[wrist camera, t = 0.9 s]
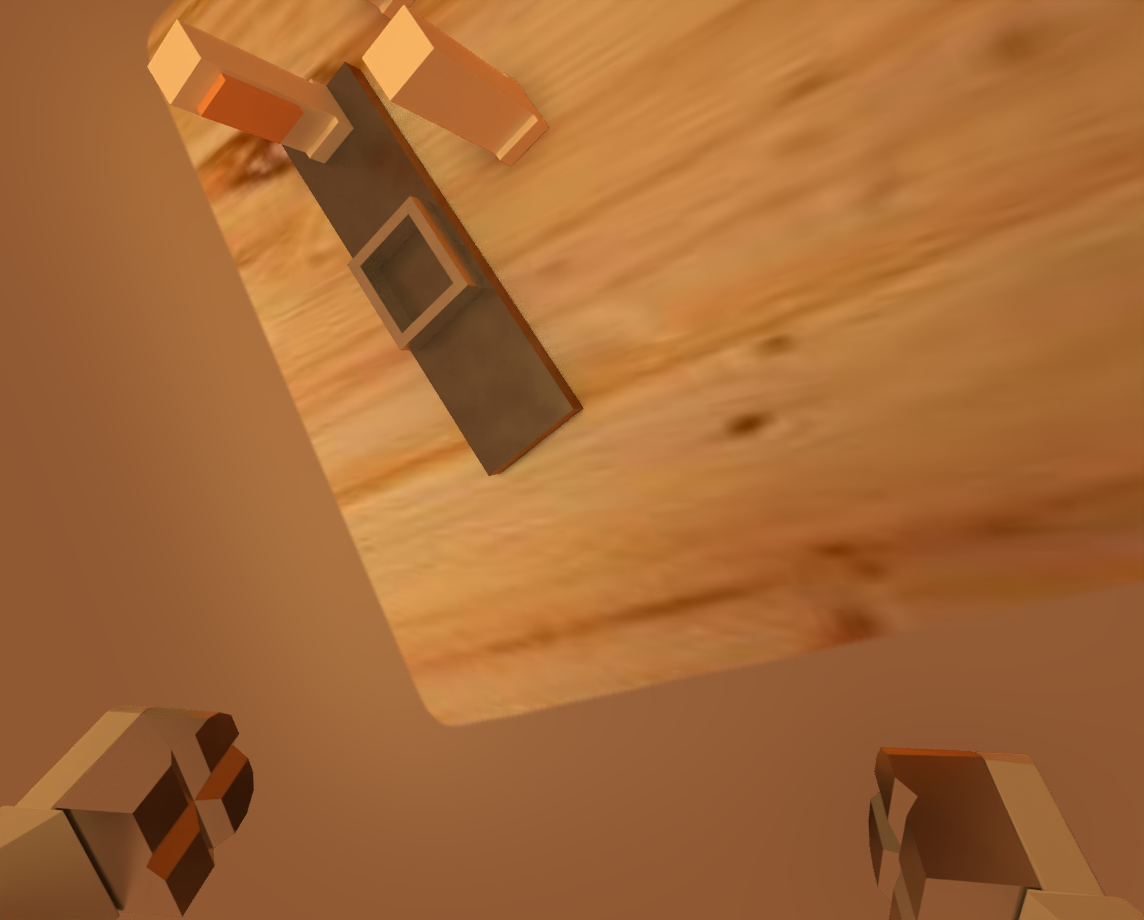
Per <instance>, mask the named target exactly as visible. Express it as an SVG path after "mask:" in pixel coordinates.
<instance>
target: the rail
mask: <svg viewBox="0 0 1144 920" xmlns="http://www.w3.org/2000/svg"><path fill="white" fill-rule="evenodd" d="M327 88H328V89H329V91H330V92H331V94H332V96H333V97H334V99H335V100H336V102H337V103H338V105H339V106H340V108H341V109H342V111H343V113H344V114H345V116H346V117H347V119H348V120H349V122H350V123H351V125H352V126H353V128H354V129H353V130H352V131H351V132H350V133H349V135H348V136H347V137H346V138H345V140H344V141H343V142H342V143H341V144H340V146H339V147H338V148H337V149H336V151H335V152H334V153H333V154H332V155H331V157H330V158H329V159H328V160H327V162H326V163H322V162H319V161H316V160H313V159H310V158H309V157H308V155H307V153H305V152H302V151H300V150H297V149H294V148H291V147H288V146H285V145H283V144H282V146H283V147H284V149H285V151H286V152H287V154H288V155H289V157H290V159H291V160H292V162H293V163H294V165H295V167H296V168H297V170H298V171H299V173H300V175H301V176H302V178H303V179H304V181H305V183H306V184H307V186H308V187H309V189H310V191H311V192H312V194H313V195H314V197H315V199H316V200H317V202H318V203H319V205H320V207H321V208H322V210H323V211H324V213H325V215H326V216H327V218H328V219H329V221H330V223H331V224H332V226H333V227H334V229H335V231H336V232H337V234H338V235H339V237H340V239H341V240H342V242H343V243H344V245H345V247H346V248H347V250H348V251H349V253H350V255H351V256H352V258H353V259H352V260H351V261H350V262H349V264H348V267H349V268H350V270H351V271H352V273H353V275H354V276H355V278H356V279H357V281H358V283H359V284H360V286H361V287H362V289H363V291H364V292H365V294H366V295H367V297H368V299H369V300H370V302H371V304H372V305H373V307H374V308H375V310H376V312H377V313H378V315H379V316H380V318H381V320H382V321H383V323H384V324H385V326H386V328H387V329H388V331H389V332H390V334H391V336H392V337H393V339H394V340H395V342H396V344H397V345H398V347H399V348H400V350H410V351H411V352H412V354H413V355H414V357H415V359H416V360H417V362H418V363H419V365H420V367H421V368H422V370H423V371H424V373H425V375H426V376H427V378H428V379H429V381H430V383H431V384H432V386H433V387H434V389H435V391H436V392H437V394H438V395H439V397H440V399H441V400H442V402H443V403H444V405H445V407H446V408H447V410H448V411H449V413H450V415H451V416H452V418H453V419H454V421H455V423H456V424H457V426H458V427H459V429H460V431H461V432H462V434H463V435H464V437H465V439H466V440H467V442H468V443H469V445H470V447H471V448H472V450H473V451H474V453H475V455H476V456H477V458H478V459H479V461H480V463H481V464H482V466H483V467H484V469H485V471H486V472H487V474H488V475H489V476H491V475H495V474H499V473H501V472H502V471H504V470H505V469H506V468H508V467H509V466H510V465H511V464H513V463H514V462H515V461H516V460H518V459H519V458H520V457H522V456H523V455H524V454H525V453H527V452H528V451H529V450H530V449H532V448H533V447H534V446H536V445H537V444H538V443H539V442H541V441H542V440H543V439H544V438H546V437H547V436H548V435H550V434H551V433H552V432H553V431H555V430H556V429H557V428H558V427H560V426H561V425H562V424H563V423H565V422H566V421H567V420H569V419H570V418H571V417H572V416H574V415H575V414H576V413H577V412H579V411H580V410H581V409H583V407H582V406H581V404H580V403H579V401H578V400H577V398H576V397H575V395H574V394H573V392H572V391H571V389H570V388H569V386H568V385H567V383H566V382H565V380H564V379H563V377H562V375H561V374H560V372H559V371H558V369H557V368H556V366H555V365H554V363H553V362H552V360H551V359H550V357H549V356H548V354H547V353H546V351H545V350H544V348H543V347H542V345H541V344H540V342H539V341H538V339H537V338H536V336H535V335H534V333H533V332H532V330H531V329H530V327H529V325H528V324H527V322H526V321H525V319H524V318H523V316H522V315H521V313H520V312H519V310H518V309H517V307H516V306H515V304H514V303H513V301H512V300H511V298H510V297H509V295H508V294H507V292H506V291H505V289H504V288H503V286H502V285H501V283H500V282H499V280H498V279H497V277H496V275H495V274H494V272H493V271H492V269H491V268H490V266H489V265H488V263H487V262H486V260H485V259H484V257H483V256H482V254H481V253H480V251H479V250H478V248H477V247H476V245H475V244H474V242H473V241H472V239H471V238H470V236H469V235H468V233H467V232H466V230H465V229H464V227H463V225H462V224H461V222H460V221H459V219H458V218H457V216H456V215H455V213H454V212H453V210H452V209H451V207H450V206H449V204H448V203H447V201H446V200H445V198H444V197H443V195H442V194H441V192H440V191H439V189H438V188H437V186H436V185H435V183H434V182H433V180H432V179H431V177H430V175H429V174H428V172H427V171H426V169H425V168H424V166H423V165H422V163H421V162H420V160H419V159H418V157H417V156H416V154H415V153H414V151H413V150H412V148H411V147H410V145H409V144H408V142H407V141H406V139H405V138H404V136H403V135H402V133H401V132H400V130H399V129H398V127H397V125H396V124H395V122H394V121H393V119H392V118H391V116H390V115H389V113H388V112H387V110H386V109H385V107H384V106H383V104H382V103H381V101H380V100H379V98H378V97H377V95H376V94H375V92H374V91H373V89H372V88H371V86H370V85H369V83H368V82H367V80H366V79H365V77H364V75H363V74H362V72H361V71H360V70H359V69H357V68H356V67H354V66H352V65H350V64H348V63H346V62H345V63H344V64H343V65H342V66H341V68H340V69H339V70H338V72H337V73H336V74H335V76H334V77H333V78H332V79H331V81H330V82H329V83H328V85H327Z"/></svg>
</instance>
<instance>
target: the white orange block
mask: <svg viewBox="0 0 1144 920" xmlns="http://www.w3.org/2000/svg"><path fill="white" fill-rule="evenodd" d="M367 1H369V2H370V3H372V4H373V5H375V6H376V7H378V8H379V9H380V11H381V12H382V14H384V15H385V16H387V17H388V18H390V19H391V20H392V19H393V17H394V16H395V15H396V13H397V12H398V11H399V10H400V8H401V7H402V6H403V5H406V6H407V7H410V6H411V4H412V3H413V2H414V0H367Z"/></svg>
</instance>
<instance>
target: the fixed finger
mask: <svg viewBox="0 0 1144 920" xmlns="http://www.w3.org/2000/svg"><path fill="white" fill-rule="evenodd" d="M148 68H149V70H150V72H151V73H152V75H153V77H154V78H155V80H156V82H157V83H158V85H159V87H160V88H161V90H162V92H163V93H164V95H165V97H166V98H167V100H168V102H169V103H170V105H172V106H175V107H178V108H181V109H184V110H187V111H189V112H192V113H195V114H198V115H201V116H202V117H205V118H208V119H210V120H213V121H216V122H219V123H222V124H225V125H227V126H230V127H233V128H236V129H239V130H242V131H244V132H247V133H250V134H253V135H256V136H259V137H261V138H264V139H267V140H270V141H273V142H276V143H278V144H283V145H285V146H288V147H291V148H294V149H297V150H300V151H302V152H305V153H307V155H308V157H309V158H310V159H313V160H316V161H319V162H322V163H326V162H327V160H328V159H329V158H330V157H331V155H332V154H333V153H334V152H335V151H336V149H337V148H338V147H339V146H340V144H341V143H342V142H343V141H344V140H345V138H346V137H347V136H348V135H349V133H350V132H351V131H352V130H353V129H354V128H353V126H352V125H351V123H350V122H349V120H348V119H347V117H346V116H345V114H344V113H343V111H342V109H341V108H340V106H339V105H338V103H337V102H336V100H335V99H334V97H333V96H332V94H331V92H330V91H329V89H328V88H327V86H325V85H323V84H321V83H319V82H317V81H315V80H313V79H310V80H309V81H307V80H305V79H303V78H301V77H299V76H296V75H294V74H292V73H290V72H288V71H286V70H284V69H282V68H279V67H277V66H275V65H273V64H271V63H269V62H267V61H265V60H263V59H260V58H258V57H256V56H254V55H252V54H250V53H248V52H246V51H244V50H241V49H239V48H237V47H235V46H233V45H231V44H229V43H227V42H224V41H222V40H220V39H218V38H216V37H214V36H212V35H210V34H208V33H205V32H203V31H201V30H199V29H197V28H195V27H193V26H191V25H189V24H186V23H184V22H182V21H180V20H178V19H177V20H176V22H175V23H174V25H173V26H172V28H171V30H170V31H169V33H168V34H167V36H166V37H165V39H164V41H163V42H162V44H161V45H160V47H159V49H158V50H157V52H156V53H155V55H154V57H153V58H152V60H151V61H150V63H149V65H148Z"/></svg>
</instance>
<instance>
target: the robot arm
mask: <svg viewBox="0 0 1144 920" xmlns="http://www.w3.org/2000/svg"><path fill="white" fill-rule="evenodd" d="M238 735H239V732H238V730H237V727H236V725H235V723H234V720H233V718H232V716H231V715H229V714H225V713H220V712H209V711H198V710H186V709H174V708H161V707H142V706H129V705H121V706H119V707H116V708H114V709H112V710H110V711H107V712H106V713H105V714H104V715H103V716H102V718H101V719H100V720H99V721H98V722H97V723H96V724H95V725H94V726H93V727H92V728H91V729H90V730H89V731H88V732H87V733H86V734H85V735H84V736H83V737H82V738H81V739H80V740H79V741H78V742H77V743H76V744H75V745H74V746H73V747H72V748H71V749H70V750H69V751H68V752H67V753H66V754H65V756H64V757H63V758H62V759H61V760H60V761H59V762H58V763H57V764H56V765H55V766H54V767H53V768H52V769H51V770H50V771H49V772H48V773H47V774H46V775H45V776H44V777H43V778H42V779H41V780H40V781H39V782H38V783H37V784H36V785H35V786H34V787H33V788H32V789H31V790H30V791H29V793H27V795H25V797H24V798H23V799H22V800H21V801H20V802H19V803H18V804H17V805H16V806H3V807H1V808H0V920H116V919H117V918H119V913H118V912H121V913H136V914H149V915H163V916H177V917H183V915H184V914H185V912H186V911H187V909H188V907H189V906H190V904H191V903H192V901H193V899H194V898H195V896H196V895H197V893H198V892H199V890H200V888H201V887H202V885H203V884H204V882H205V880H206V879H207V877H208V876H209V874H210V873H211V871H212V869H213V868H214V866H215V863H214V848H216V847H217V846H218V845H220V844H221V843H223V842H224V841H225V840H227V839H228V838H229V837H231V836H232V835H234V834H235V833H236V831H237V829H238V828H239V826H240V824H241V823H242V821H243V819H244V818H245V816H246V814H247V812H248V808H249V805H250V801H251V798H252V794H253V791H254V781H253V770H252V767H251V765H250V762H249V759H248V758H247V757H246V756H245V755H244V754H243V753H242V752H241V751H239V750H238V749H237V748H236V747H235V746H234V743H235V741H236V738H237V737H238ZM874 772H875V775H876V779H877V783H878V787H879V790H880V792H879V793H877V794H876V795H875V796H874V797H873V798H871V800H870V810H869V820H868V821H869V846H870V852H871V858H872V865H873V869H874V874H875V878H876V883H877V887H878V889H879V890H880V891H881V892H882V893H883V894H884V895H885V896H886V897H887V898H888V899H889V900H890V902H891V908H890V915H889V920H1144V914H1143V913H1141V912H1140V911H1139V910H1138V909H1136V908H1135V907H1134V906H1133V905H1131V904H1130V903H1129V902H1128V901H1127V900H1125V899H1124V898H1122V897H1113V896H1106V895H1105V893H1104V891H1103V889H1102V887H1101V886H1100V884H1099V882H1098V880H1097V878H1096V876H1095V874H1094V872H1093V871H1092V869H1091V867H1090V865H1089V863H1088V861H1087V859H1086V857H1085V856H1084V854H1083V852H1082V850H1081V848H1080V846H1079V845H1078V843H1077V841H1076V839H1075V837H1074V835H1073V833H1072V831H1071V829H1070V828H1069V826H1068V824H1067V822H1066V820H1065V818H1064V816H1063V815H1062V813H1061V811H1060V809H1059V807H1058V805H1057V804H1056V802H1055V800H1054V798H1053V796H1052V794H1051V792H1050V790H1049V789H1048V787H1047V785H1046V783H1045V781H1044V779H1043V777H1042V776H1041V774H1040V772H1039V770H1038V768H1037V766H1036V764H1035V762H1034V761H1033V760H1032V759H1030V758H1029V757H1028V756H1027V755H1026V754H1017V753H996V752H975V753H973V752H971V751H956V750H933V749H910V748H886V747H881V748H880V750H879V752H878V754H877V758H876V765H875V771H874Z"/></svg>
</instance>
